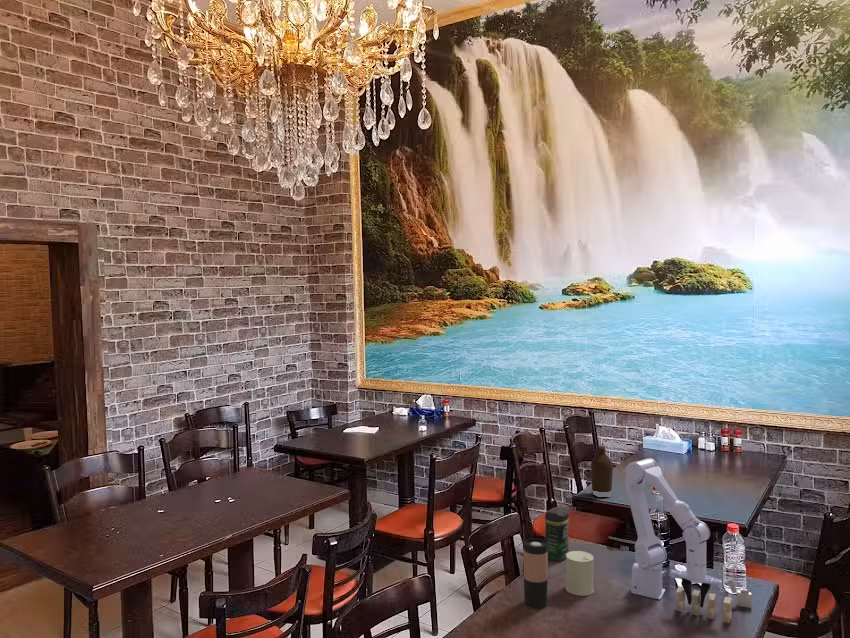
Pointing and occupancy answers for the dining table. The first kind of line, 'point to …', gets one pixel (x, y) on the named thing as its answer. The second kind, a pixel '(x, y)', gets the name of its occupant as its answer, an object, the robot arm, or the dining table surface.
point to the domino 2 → (695, 602)
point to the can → (579, 573)
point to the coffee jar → (557, 533)
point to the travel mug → (535, 573)
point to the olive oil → (601, 471)
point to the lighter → (741, 595)
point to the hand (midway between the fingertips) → (695, 604)
